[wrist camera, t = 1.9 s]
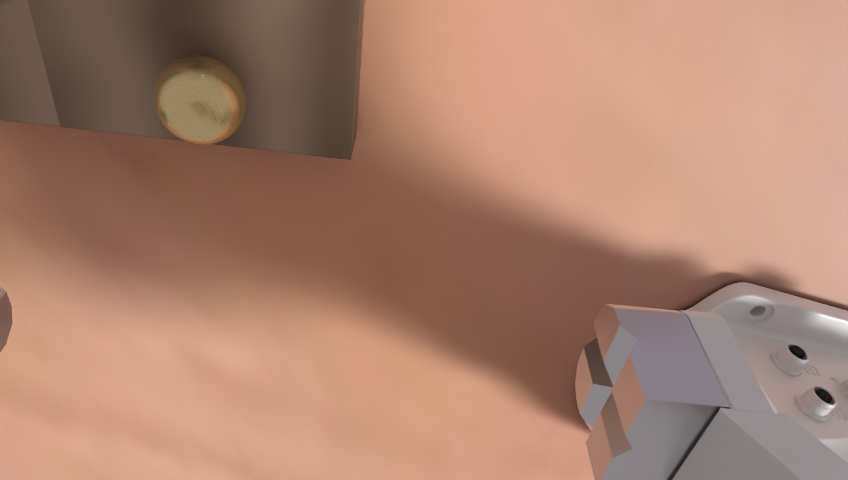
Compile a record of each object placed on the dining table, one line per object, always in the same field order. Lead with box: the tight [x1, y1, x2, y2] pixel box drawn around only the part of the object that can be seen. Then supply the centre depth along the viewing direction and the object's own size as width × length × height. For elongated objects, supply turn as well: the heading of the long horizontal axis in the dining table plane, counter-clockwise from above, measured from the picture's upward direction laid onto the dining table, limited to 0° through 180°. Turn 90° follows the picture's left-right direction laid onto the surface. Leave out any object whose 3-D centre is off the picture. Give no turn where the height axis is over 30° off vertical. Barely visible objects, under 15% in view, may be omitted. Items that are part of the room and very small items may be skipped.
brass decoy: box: [154, 55, 246, 144], centre depth 25 cm, size 4×4×4 cm
